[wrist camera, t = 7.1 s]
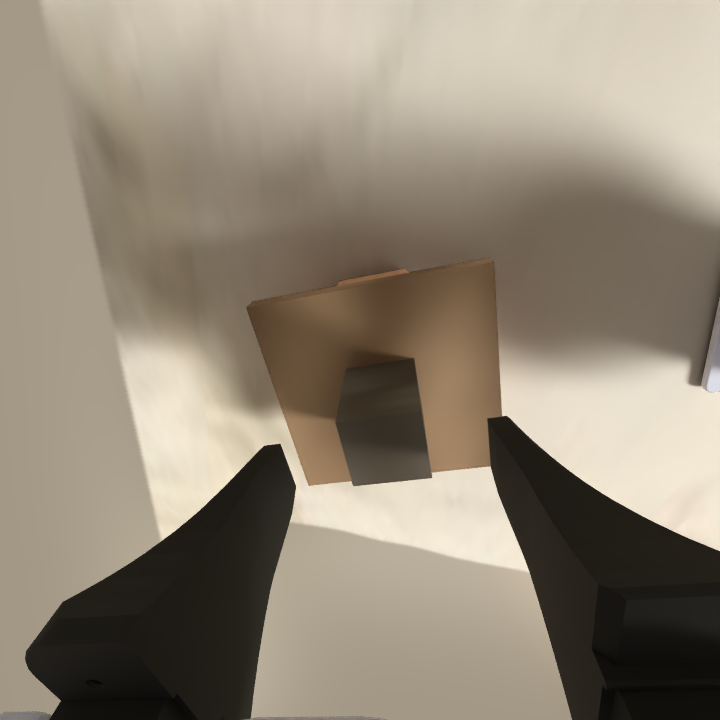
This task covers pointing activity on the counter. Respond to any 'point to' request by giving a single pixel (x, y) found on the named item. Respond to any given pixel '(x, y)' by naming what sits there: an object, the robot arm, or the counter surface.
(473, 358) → the board
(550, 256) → the counter surface
